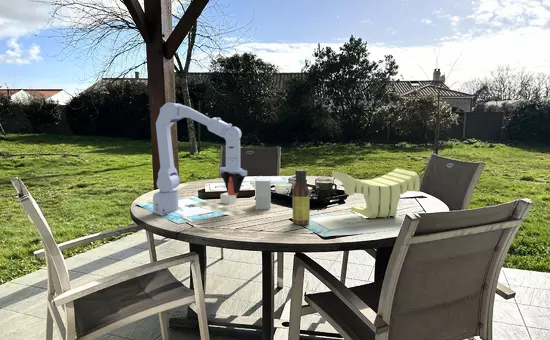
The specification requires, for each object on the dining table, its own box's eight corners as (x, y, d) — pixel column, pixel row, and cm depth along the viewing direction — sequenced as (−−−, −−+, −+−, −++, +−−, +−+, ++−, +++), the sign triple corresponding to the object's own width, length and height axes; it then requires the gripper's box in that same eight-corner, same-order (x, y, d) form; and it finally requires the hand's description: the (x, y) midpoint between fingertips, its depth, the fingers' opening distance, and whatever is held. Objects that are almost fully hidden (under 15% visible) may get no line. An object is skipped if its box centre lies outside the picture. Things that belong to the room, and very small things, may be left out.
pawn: (232, 195, 143) (232, 176, 142) (226, 194, 146) (225, 175, 145) (240, 194, 146) (240, 175, 145) (233, 192, 149) (233, 174, 148)
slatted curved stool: (348, 222, 138) (350, 175, 136) (331, 212, 153) (332, 169, 151) (417, 217, 146) (420, 173, 144) (394, 208, 161) (396, 168, 159)
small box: (256, 207, 161) (256, 177, 159) (270, 207, 161) (270, 177, 159) (255, 211, 153) (255, 180, 151) (270, 211, 153) (270, 180, 151)
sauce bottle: (312, 224, 135) (314, 170, 132) (298, 226, 132) (299, 171, 129) (302, 220, 140) (303, 168, 138) (288, 222, 137) (289, 169, 135)
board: (230, 219, 141) (230, 216, 141) (189, 206, 160) (189, 204, 160) (249, 214, 148) (249, 212, 148) (208, 203, 167) (208, 201, 167)
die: (229, 206, 161) (229, 195, 161) (220, 205, 164) (220, 194, 163) (236, 204, 166) (236, 193, 165) (227, 203, 168) (227, 192, 167)
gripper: (253, 158, 142) (252, 193, 144) (229, 155, 152) (229, 188, 154) (239, 159, 137) (239, 195, 139) (215, 156, 147) (215, 190, 149)
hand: (233, 191), depth 146 cm, fingers closed on pawn, 4 cm apart
